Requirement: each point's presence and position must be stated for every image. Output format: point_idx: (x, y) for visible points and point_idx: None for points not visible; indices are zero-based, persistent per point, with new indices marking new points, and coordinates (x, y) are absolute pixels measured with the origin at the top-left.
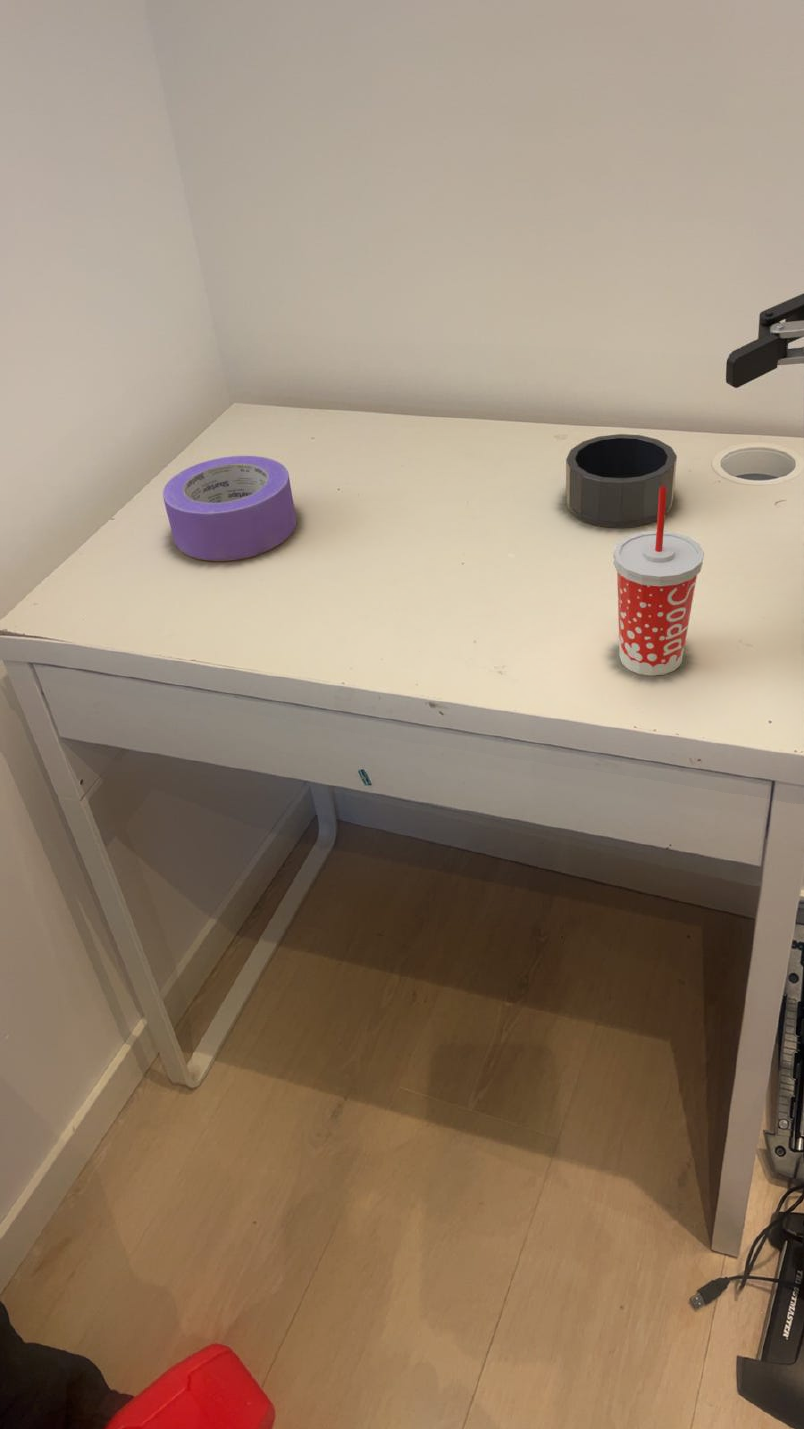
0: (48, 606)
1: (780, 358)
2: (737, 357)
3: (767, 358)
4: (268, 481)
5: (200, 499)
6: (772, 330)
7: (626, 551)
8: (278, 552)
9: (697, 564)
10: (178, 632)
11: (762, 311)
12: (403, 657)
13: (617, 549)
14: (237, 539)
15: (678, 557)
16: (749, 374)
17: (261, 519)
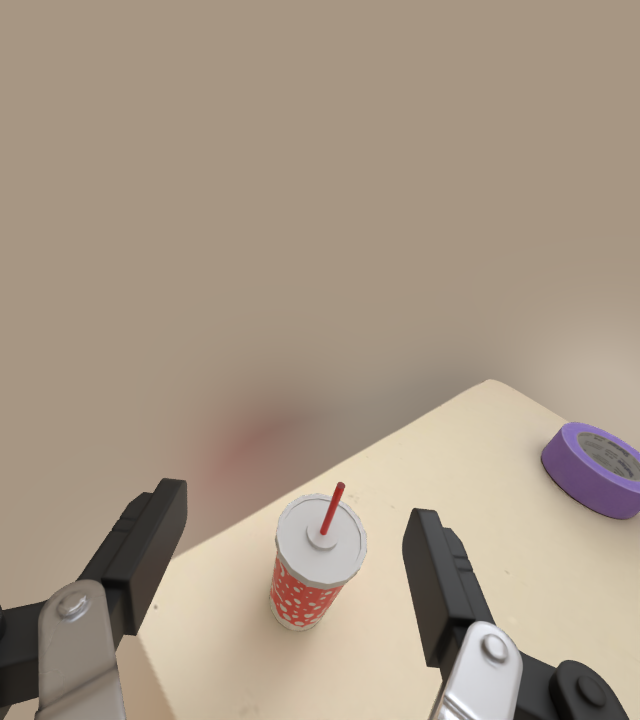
0: (509, 392)
1: (441, 674)
2: (419, 510)
3: (428, 606)
4: (612, 473)
5: (610, 460)
6: (487, 624)
7: (344, 517)
8: (550, 482)
9: (280, 544)
10: (468, 412)
11: (614, 693)
12: (397, 467)
13: (351, 511)
14: (550, 452)
15: (304, 544)
16: (412, 570)
17: (566, 461)
